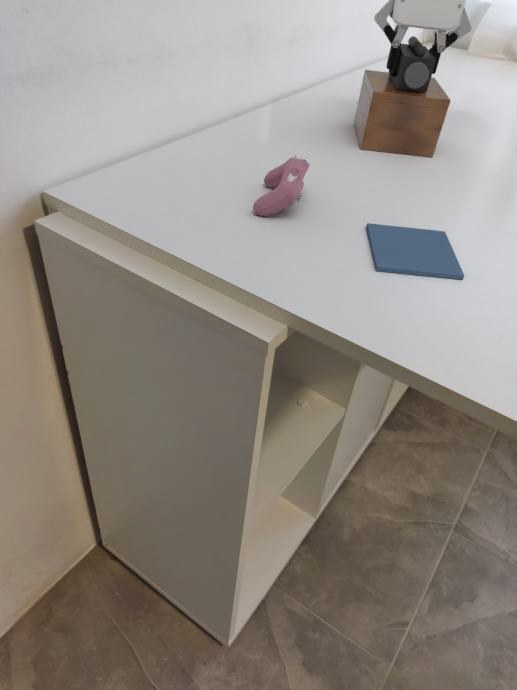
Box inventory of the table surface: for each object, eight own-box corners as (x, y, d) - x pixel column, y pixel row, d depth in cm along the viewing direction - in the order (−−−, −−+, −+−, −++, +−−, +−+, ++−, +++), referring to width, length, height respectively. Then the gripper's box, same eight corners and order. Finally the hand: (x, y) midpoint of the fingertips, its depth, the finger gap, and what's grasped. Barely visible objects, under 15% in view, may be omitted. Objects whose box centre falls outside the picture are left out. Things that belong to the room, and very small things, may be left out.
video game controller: (278, 232, 68) (311, 190, 63) (248, 212, 67) (279, 168, 62) (289, 198, 75) (318, 158, 71) (262, 179, 74) (290, 138, 70)
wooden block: (419, 131, 97) (434, 77, 91) (432, 157, 88) (450, 100, 82) (353, 123, 96) (364, 69, 90) (360, 149, 87) (373, 91, 81)
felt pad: (443, 235, 68) (445, 231, 68) (462, 280, 61) (464, 275, 60) (365, 227, 68) (367, 222, 67) (375, 271, 60) (377, 266, 60)
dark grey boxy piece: (416, 76, 90) (427, 35, 86) (427, 94, 82) (440, 50, 78) (388, 73, 89) (397, 32, 85) (396, 91, 82) (407, 47, 78)
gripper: (498, -63, 76) (455, 75, 88) (380, -77, 76) (353, 64, 88) (515, -58, 71) (467, 89, 83) (388, -73, 70) (358, 77, 82)
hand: (409, 75), depth 85 cm, fingers closed on dark grey boxy piece, 4 cm apart
